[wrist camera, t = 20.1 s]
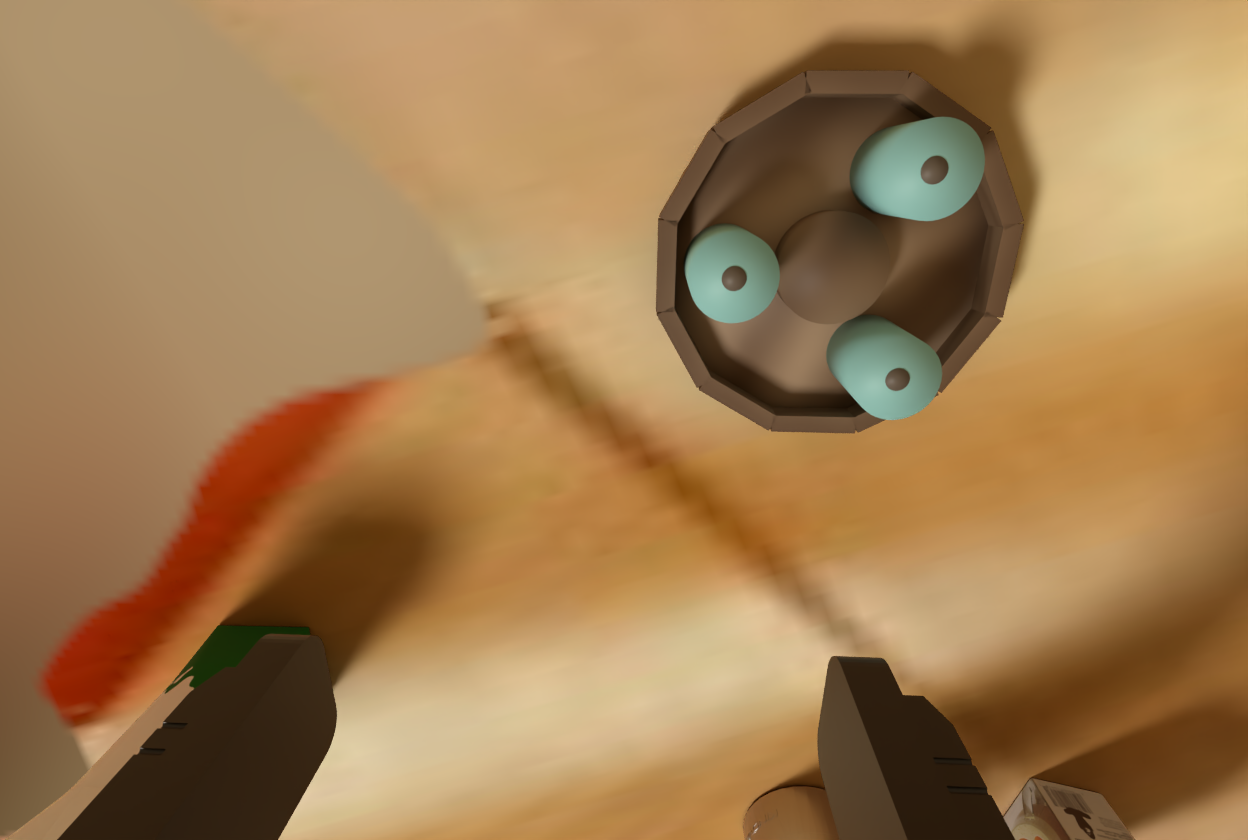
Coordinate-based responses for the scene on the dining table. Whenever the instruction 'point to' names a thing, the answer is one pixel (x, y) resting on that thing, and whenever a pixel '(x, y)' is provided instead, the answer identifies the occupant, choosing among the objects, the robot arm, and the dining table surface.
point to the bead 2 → (918, 169)
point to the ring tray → (783, 196)
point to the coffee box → (1063, 814)
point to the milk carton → (149, 725)
